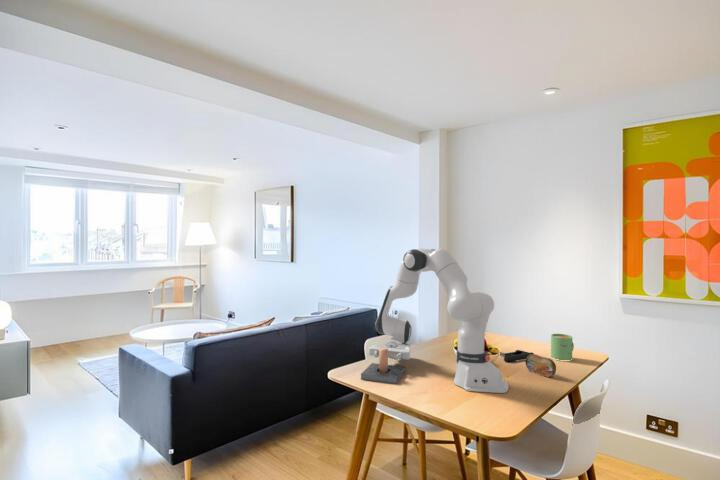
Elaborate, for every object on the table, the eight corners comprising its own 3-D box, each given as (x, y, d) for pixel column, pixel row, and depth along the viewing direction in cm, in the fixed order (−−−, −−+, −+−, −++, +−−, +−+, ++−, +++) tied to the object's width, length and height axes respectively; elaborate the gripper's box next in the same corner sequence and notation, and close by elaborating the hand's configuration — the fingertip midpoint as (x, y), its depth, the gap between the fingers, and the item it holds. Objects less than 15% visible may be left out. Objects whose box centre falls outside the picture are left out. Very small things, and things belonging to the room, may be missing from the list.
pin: (388, 374, 181) (389, 348, 181) (386, 377, 177) (386, 351, 177) (380, 373, 182) (380, 347, 182) (377, 376, 178) (378, 350, 178)
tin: (524, 369, 190) (525, 352, 190) (529, 368, 192) (529, 351, 192) (552, 379, 177) (552, 360, 177) (557, 378, 179) (557, 360, 179)
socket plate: (404, 372, 185) (404, 367, 185) (396, 384, 169) (396, 378, 169) (371, 368, 190) (372, 363, 190) (361, 379, 175) (361, 373, 175)
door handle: (486, 351, 214) (509, 357, 200) (513, 347, 223) (537, 353, 208) (486, 357, 214) (509, 364, 199) (514, 353, 222) (537, 359, 208)
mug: (560, 362, 203) (560, 338, 203) (546, 356, 213) (546, 334, 213) (581, 360, 206) (581, 337, 206) (566, 355, 216) (566, 333, 216)
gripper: (373, 340, 200) (364, 347, 187) (413, 344, 193) (407, 352, 180) (373, 353, 200) (364, 360, 187) (412, 357, 193) (406, 366, 180)
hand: (385, 356), depth 183 cm, fingers open, 8 cm apart
